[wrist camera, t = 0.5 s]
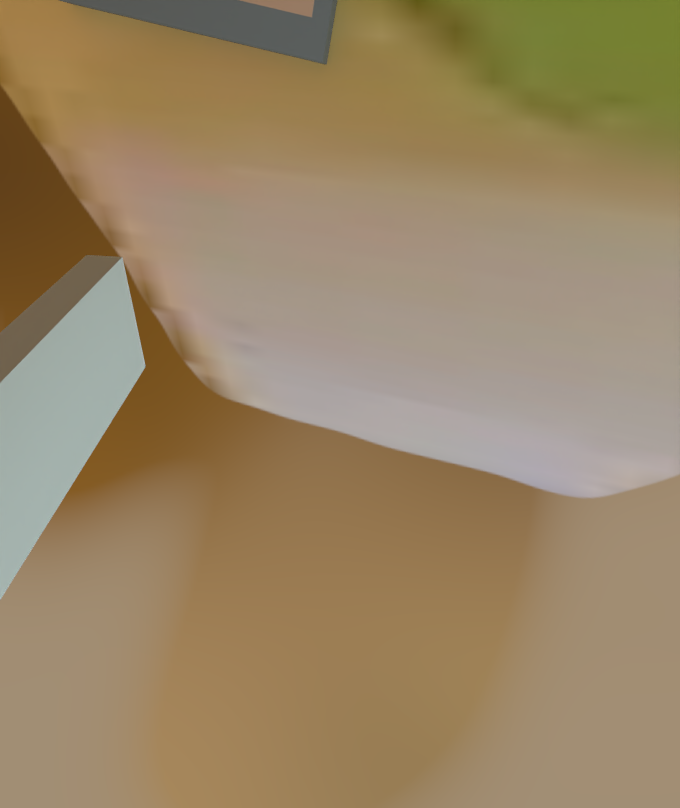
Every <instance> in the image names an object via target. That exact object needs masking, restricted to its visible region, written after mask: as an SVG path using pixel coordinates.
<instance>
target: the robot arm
mask: <svg viewBox="0 0 680 808" xmlns="http://www.w3.org/2000/svg"><path fill="white" fill-rule="evenodd" d="M144 368H145V362H144V357H143V353H142V348H141V343H140V338H139V334H138V329H137V324H136V319H135V315H134V310H133V306H132V301H131V296H130V291H129V286H128V282H127V277H126V272H125V268H124V263H123V258H122V257H111V256H93V255H86V256H85V257H84V258H83V259H82V260H81V261H80V262H78V263H77V264H76V265H75V266H74V267H73V268H72V269H71V270H70V271H68V272H67V273H66V274H65V275H64V276H63V277H62V278H61V279H60V280H58V281H57V282H56V283H55V284H54V285H53V286H52V287H51V288H50V289H48V290H47V291H46V292H45V293H44V294H43V295H42V296H41V297H39V299H37V300H36V301H35V302H34V303H33V304H32V305H31V306H29V307H28V308H27V310H25V311H24V312H23V313H22V314H21V315H20V316H19V317H18V318H16V319H15V320H14V321H13V322H12V323H11V324H9V325H8V326H7V327H6V328H5V329H4V330H3V331H2V332H1V333H0V599H1V598H2V596H3V595H4V593H5V591H6V590H7V588H8V586H9V585H10V583H11V582H12V580H13V578H14V577H15V575H16V574H17V572H18V570H19V569H20V567H21V566H22V564H23V562H24V561H25V559H26V558H27V556H28V554H29V553H30V551H31V549H32V548H33V546H34V545H35V543H36V542H37V540H38V538H39V537H40V535H41V533H42V532H43V530H44V529H45V527H46V526H47V524H48V522H49V521H50V519H51V518H52V516H53V514H54V513H55V511H56V509H57V508H58V506H59V505H60V503H61V501H62V500H63V498H64V497H65V495H66V493H67V492H68V490H69V489H70V487H71V485H72V484H73V482H74V480H75V479H76V477H77V476H78V474H79V473H80V471H81V469H82V468H83V466H84V465H85V463H86V461H87V460H88V458H89V456H90V455H91V453H92V452H93V450H94V448H95V447H96V445H97V444H98V442H99V440H100V439H101V437H102V436H103V434H104V432H105V431H106V429H107V428H108V426H109V424H110V423H111V421H112V420H113V418H114V416H115V415H116V413H117V411H118V410H119V408H120V407H121V405H122V404H123V402H124V400H125V399H126V397H127V395H128V394H129V392H130V390H131V389H132V387H133V386H134V384H135V383H136V381H137V379H138V378H139V376H140V374H141V373H142V371H143V370H144Z"/></svg>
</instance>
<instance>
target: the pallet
mask: <svg viewBox="0 0 680 808" xmlns="http://www.w3.org/2000/svg"><path fill="white" fill-rule="evenodd" d="M60 1H63V2H67V3H71V4H75V5H79V6H83V7H87V8H92V9H96V10H100V11H104V12H108V13H113V14H117V15H121V16H125V17H129V18H134V19H138V20H142V21H146V22H150V23H154V24H159V25H163V26H167V27H171V28H175V29H180V30H184V31H188V32H192V33H196V34H201V35H205V36H209V37H213V38H217V39H222V40H226V41H230V42H234V43H238V44H243V45H247V46H251V47H255V48H259V49H264V50H268V51H272V52H276V53H280V54H284V55H289V56H293V57H297V58H301V59H305V60H310V61H314V62H318V63H322V64H327V58H328V52H329V46H330V40H331V34H332V28H333V22H334V16H335V10H336V4H337V0H60Z"/></svg>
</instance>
